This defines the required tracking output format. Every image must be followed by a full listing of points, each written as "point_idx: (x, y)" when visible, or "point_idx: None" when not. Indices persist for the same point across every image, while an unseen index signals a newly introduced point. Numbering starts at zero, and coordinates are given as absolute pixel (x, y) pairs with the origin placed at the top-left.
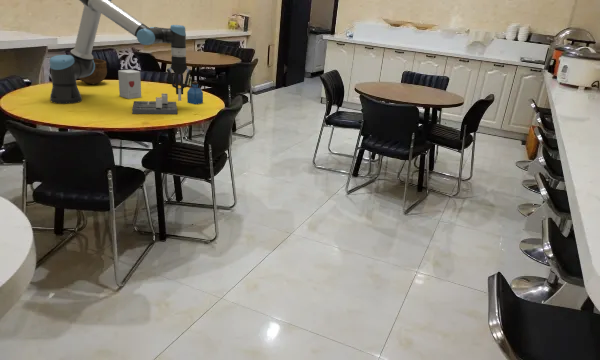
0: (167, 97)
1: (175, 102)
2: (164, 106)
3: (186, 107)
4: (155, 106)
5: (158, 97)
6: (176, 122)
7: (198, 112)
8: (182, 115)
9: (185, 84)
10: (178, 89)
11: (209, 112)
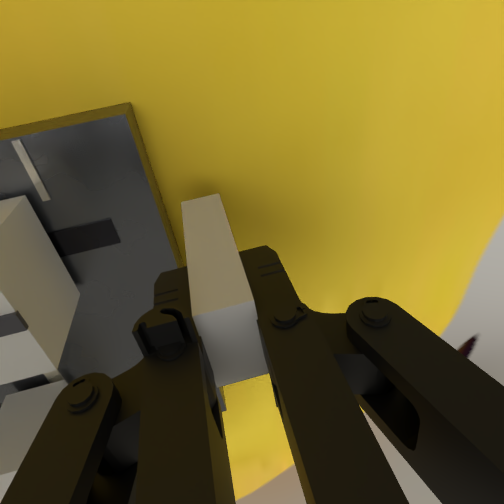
0: (63, 348)
1: (135, 169)
2: (88, 368)
3: (264, 150)
4: (5, 394)
5: (5, 478)
6: (247, 489)
7: (369, 296)
8: (260, 391)
9: (396, 425)
10: (220, 374)
11: (449, 272)
